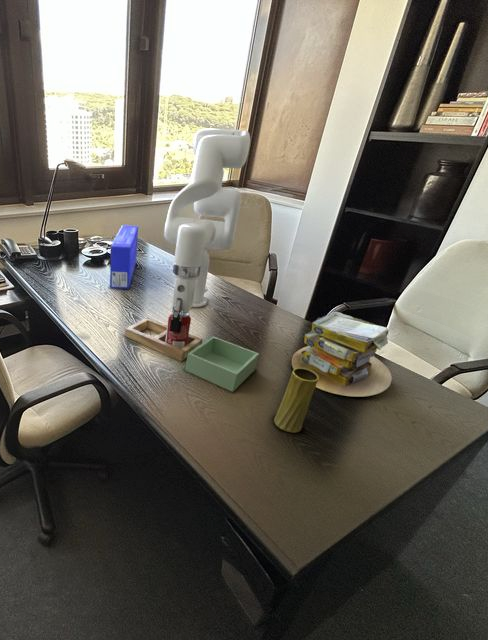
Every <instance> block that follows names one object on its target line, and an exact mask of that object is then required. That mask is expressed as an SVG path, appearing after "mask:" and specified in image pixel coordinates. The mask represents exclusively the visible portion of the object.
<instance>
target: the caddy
mask: <svg viewBox="0 0 488 640" xmlns="http://www.w3.org/2000/svg"><path fill="white" fill-rule="evenodd" d="M146 329H148V330H151V331H153V332H155V333H157V334H156V335H155V336H151V335H149V334H147V333H144V332H143V331H144V330H146ZM166 332H167V324H165V323H162V322H161V321H157V320H154V319H153V318H150V317H145V318H143V319H141V320H139V321H137V322H135V323H133V324H131V325H129V326H127V327H125V328H124V337H126V338H128V339H129V340H131V341H135V342H137V343H139V344H141V345H144V346H146V347H148V348H151V349H153V350H155V351H157V352H160V353H161V354H164V355H166V356H168V357H171V358H173V359H175V360H178V361H180V362H183V361H184V360H186V359H187V356H188V353H189V352H191V351H192V350H194V349H195V348H197V347H198V346H199V345H201V344H202V343H203V339H204V338H200V337H199V336H196V335H193V334H190V333H189V335H188V341H187V345H186V346H185V347H183V348H182V349H180V348H178V347H175V346H173V345H170V344H168V343H166V342H165V340H166Z"/></svg>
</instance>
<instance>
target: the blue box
mask: <svg viewBox="0 0 488 640" xmlns="http://www.w3.org/2000/svg"><path fill="white" fill-rule="evenodd" d="M138 236H139V226H138V225H124V224H123V225H121V227H120V229H119V230H118V232H117V234H116V236H115V238H114V240H113V242H112V243H111V246H110V251H109V252H110V255H109V256H110V263H109V265H110V266H109V268H110V269H109V270H110V271H109V288H110V289H115V290H129V288H130V285H131V282H132V278H133V275H134V271H135V269H136V268H135V267H136V265H137V256H138V255H137V253H138Z"/></svg>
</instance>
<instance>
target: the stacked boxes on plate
mask: <svg viewBox="0 0 488 640" xmlns="http://www.w3.org/2000/svg"><path fill="white" fill-rule="evenodd" d="M389 331H390V330H389V329H388V327H386V326H382V325H377V324H374V323H370V322H369V321H366V320H363V319H361V318H357V317H353V316H351V315H347V314H344V313H342V312H339V311H333V312H331V313H330V314H329V313H328V314H327V315H324V316H322V317H317V319H316V320H315V321H312V324H311V331H309V332H307V333H305V334H304V340H303V341H304V342H303V344H305V345H306V346H304V347H302V348H300V349H298V350H296V351H295V353H293V355H292V357H291V366H292V369H293V370H294V369H295V368H306V369H309V370H312V371H314V372H315V373H316V374H317V375H318V377H319V379H318V382H317V384H316V387H315V388H317V389H319V390H321V391H324V392H328V393H331V394H335V395H338V396H339V395H340V396H346V397H354V398H355V397H356V398H357V397H358V398H359V397H370V396H374V395H375V396H376V395H378V394H381V393H383V392H384V391H386V390H387V389H388V388H390V385H391V383H392V381H393V380H392V379H393V378H392V373H391V371H390V369H389V368H388V367H387V366H386V365H385V364H384V362H382V361H381V360H380V359H378V358H377V357H375V356H376V352H377V350H379V351H381V350H382V348H383V347H385V346H387V344H389V341H388V340H389V339H388V335H389Z"/></svg>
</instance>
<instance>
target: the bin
mask: <svg viewBox="0 0 488 640" xmlns="http://www.w3.org/2000/svg"><path fill="white" fill-rule="evenodd" d="M259 357H260V353H258V352H256V351H254V350H251V349H248V348H245V347H243V346H240V345H238V344H235V343H233V342H230V341H227V340H224V339H222V338H219V337H217V336H214V335H212V336H211V337H210V338H208V339H207V340H204V342H202V344H201V345H199V346H198V347H197V348H195V349H194V350H192V351H191V352H189V353H188V356H187V358H186V363H185V369H184V371H185V372H187V373H190V374H191V375H194V376H197V377H198V378H201V379H202V380H205V381H208V382H210V383H212V384H213V385H217V386H218V387H220V388H223V389H225V390H227V391H229V392H232V393H233V392H234V391H235V390H236V389H237V388H238V387H239V386H241V385H242V383H243V382H244V381H245V380H247V378H249V376H250V375H251V374H253V373H254V372H255V371H256V367H257V364H258V360H259Z"/></svg>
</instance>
